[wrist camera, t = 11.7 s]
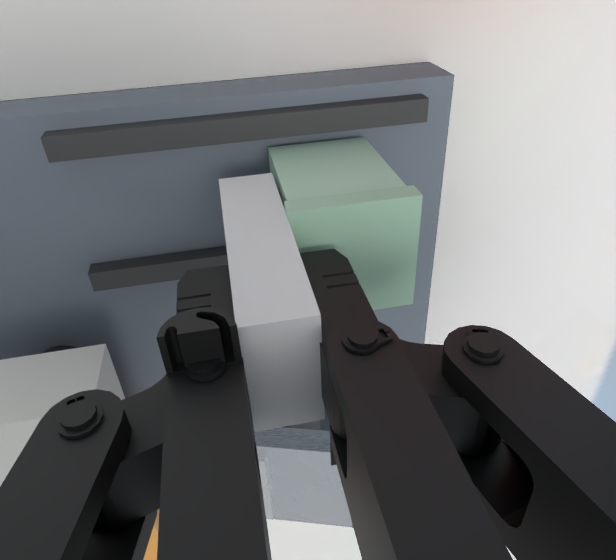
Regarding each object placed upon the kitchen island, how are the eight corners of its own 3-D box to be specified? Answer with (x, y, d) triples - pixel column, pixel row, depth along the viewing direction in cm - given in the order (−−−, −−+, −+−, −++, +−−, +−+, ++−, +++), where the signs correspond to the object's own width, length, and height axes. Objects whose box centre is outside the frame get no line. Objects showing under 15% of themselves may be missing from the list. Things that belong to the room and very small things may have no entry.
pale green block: (273, 237, 17) (296, 322, 13) (264, 144, 15) (288, 212, 12) (365, 225, 17) (413, 303, 14) (367, 133, 16) (422, 195, 12)
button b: (12, 455, 18) (-14, 529, 16) (-42, 366, 16) (-81, 438, 13) (137, 433, 19) (130, 501, 17) (105, 343, 16) (91, 409, 14)
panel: (80, 504, 26) (65, 580, 23) (-123, 112, 15) (-205, 158, 12) (396, 443, 28) (422, 505, 25) (429, 61, 17) (481, 89, 14)
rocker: (209, 491, 24) (201, 517, 23) (191, 419, 21) (180, 446, 20) (428, 513, 22) (430, 542, 21) (440, 439, 20) (443, 469, 18)
